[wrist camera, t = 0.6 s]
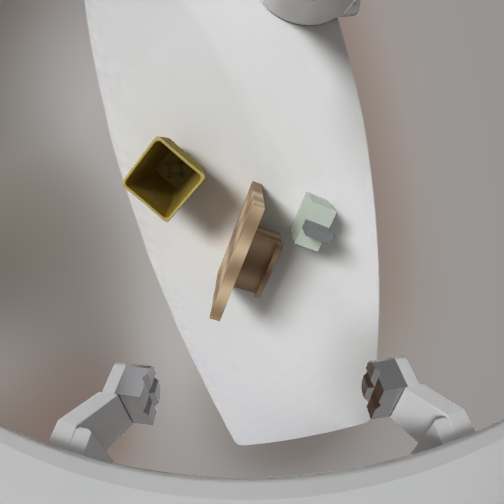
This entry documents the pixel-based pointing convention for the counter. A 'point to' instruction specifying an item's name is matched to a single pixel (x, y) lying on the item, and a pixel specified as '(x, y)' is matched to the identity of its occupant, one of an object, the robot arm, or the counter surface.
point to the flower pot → (164, 177)
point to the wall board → (247, 254)
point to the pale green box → (313, 222)
